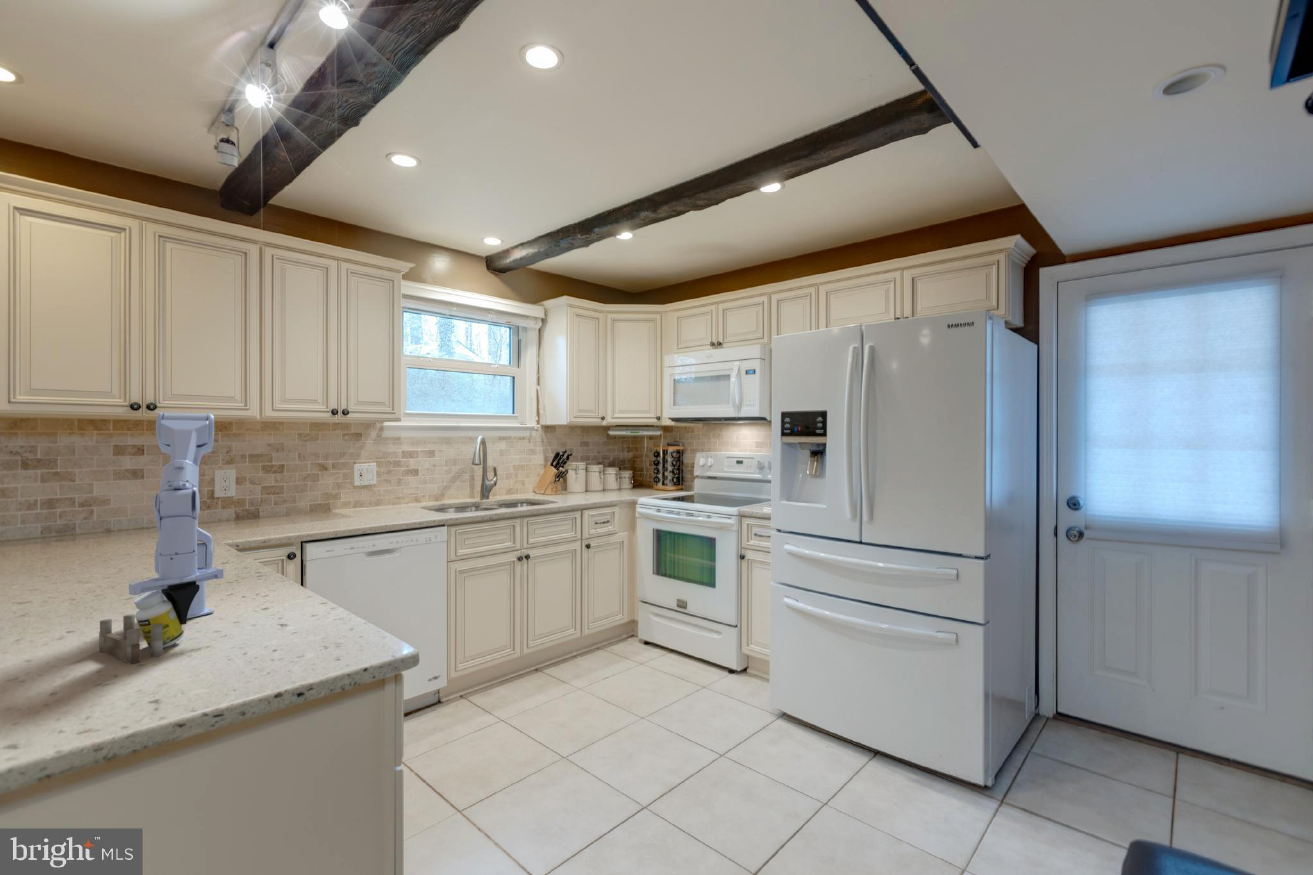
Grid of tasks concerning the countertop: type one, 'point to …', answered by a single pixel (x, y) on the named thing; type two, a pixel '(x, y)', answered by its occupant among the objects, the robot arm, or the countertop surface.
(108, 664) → the countertop surface
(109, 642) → the pin seat
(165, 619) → the supplement bottle
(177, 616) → the robot arm
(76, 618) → the countertop surface
